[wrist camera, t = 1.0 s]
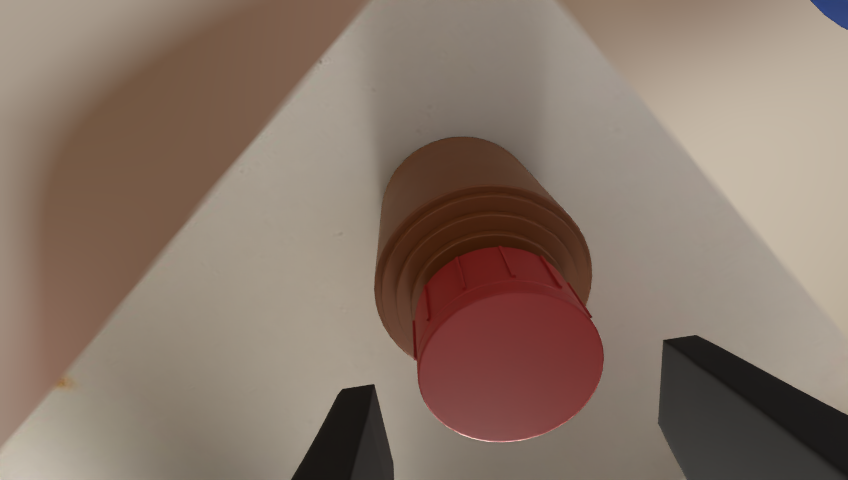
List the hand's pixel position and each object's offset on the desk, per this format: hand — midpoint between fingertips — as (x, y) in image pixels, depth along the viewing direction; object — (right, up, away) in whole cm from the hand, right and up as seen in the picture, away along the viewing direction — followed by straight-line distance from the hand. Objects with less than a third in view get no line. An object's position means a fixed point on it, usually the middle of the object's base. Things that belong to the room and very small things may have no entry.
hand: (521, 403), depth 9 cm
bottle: (-1, +4, +10) cm, 10 cm away
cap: (0, +1, +1) cm, 1 cm away
